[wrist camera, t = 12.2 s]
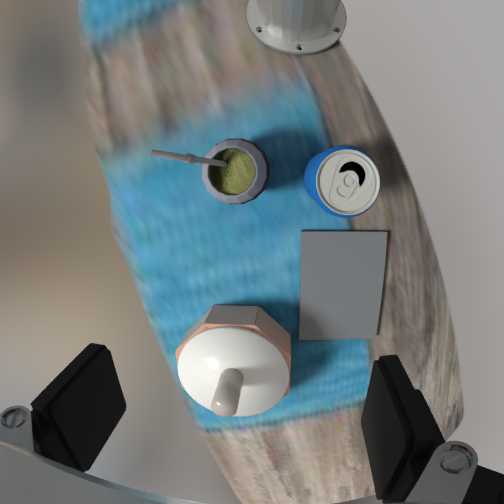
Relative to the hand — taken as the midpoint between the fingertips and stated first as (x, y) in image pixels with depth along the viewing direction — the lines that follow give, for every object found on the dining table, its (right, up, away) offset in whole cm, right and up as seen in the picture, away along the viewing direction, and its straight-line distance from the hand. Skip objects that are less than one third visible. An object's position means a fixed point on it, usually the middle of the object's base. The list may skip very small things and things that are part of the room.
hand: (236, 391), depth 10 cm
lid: (-2, -11, +29) cm, 31 cm away
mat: (+12, 0, +30) cm, 33 cm away
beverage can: (+10, +14, +27) cm, 32 cm away
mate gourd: (-1, +15, +28) cm, 32 cm away
